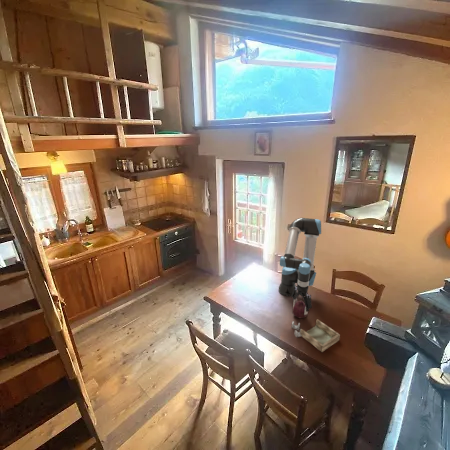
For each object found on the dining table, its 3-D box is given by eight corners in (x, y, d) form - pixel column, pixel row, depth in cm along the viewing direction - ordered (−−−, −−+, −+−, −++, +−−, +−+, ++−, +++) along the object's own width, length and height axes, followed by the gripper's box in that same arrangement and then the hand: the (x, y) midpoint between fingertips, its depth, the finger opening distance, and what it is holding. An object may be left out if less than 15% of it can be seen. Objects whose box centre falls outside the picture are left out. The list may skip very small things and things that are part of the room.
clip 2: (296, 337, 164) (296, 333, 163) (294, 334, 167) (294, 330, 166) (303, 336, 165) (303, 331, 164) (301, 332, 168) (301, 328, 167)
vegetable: (304, 322, 178) (307, 310, 169) (290, 316, 182) (292, 303, 173) (308, 311, 185) (312, 299, 175) (295, 305, 189) (297, 293, 180)
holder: (300, 334, 166) (300, 329, 164) (316, 324, 175) (317, 319, 173) (322, 352, 152) (322, 346, 151) (339, 340, 161) (340, 334, 160)
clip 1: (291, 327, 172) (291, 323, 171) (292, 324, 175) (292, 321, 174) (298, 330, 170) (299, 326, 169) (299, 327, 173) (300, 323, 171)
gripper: (287, 278, 180) (285, 303, 188) (312, 294, 163) (309, 321, 171) (294, 275, 184) (292, 300, 192) (319, 290, 167) (316, 316, 175)
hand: (300, 310), depth 181 cm, fingers closed on vegetable, 9 cm apart
